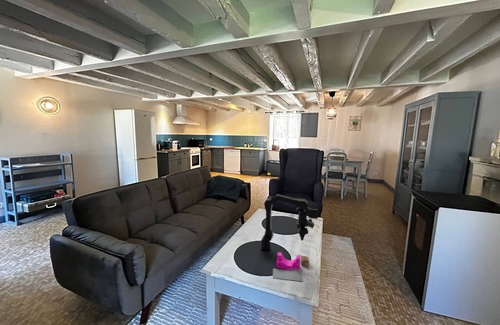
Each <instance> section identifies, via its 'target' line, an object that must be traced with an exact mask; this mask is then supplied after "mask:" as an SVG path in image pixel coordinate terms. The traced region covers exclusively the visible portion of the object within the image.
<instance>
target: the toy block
mask: <svg viewBox="0 0 500 325" xmlns="http://www.w3.org/2000/svg"><path fill="white" fill-rule="evenodd" d="M276 259H277V260H276V268H277V269H282V270H291V271H293V269H297V270H300V268H301V255H297V256H296V258H294V259H291V260H289V259H287V258H285V257H284V255H283V253H282V252H280V251H279V252H277V258H276Z"/></svg>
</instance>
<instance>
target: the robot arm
mask: <svg viewBox="0 0 500 325" xmlns="http://www.w3.org/2000/svg"><path fill="white" fill-rule="evenodd" d="M277 202H283V203H286V204H290V205H294V206H295V207H296V210H295V211H297V212H298V216H297V219H296V220H295V221H296V222H295V223H296V224H295V225H296V228H297V230H298V234H299V237H300V240H301V241H302V242H303V241H304V238H305V236H306V235H308V234H309V230H308V228H307V227H309V228H311V229H314V228H315V222H314V221H313V220H314V219H315V220H318V217H319V214H318V213H319V212H318V211H319V210H318V208H311V206H309V204H308V200H307V199H305V198H293V197H291V196H286V195H282V194H280V193H277V194H276V195H274V196H271V197H268V198H266V199H265V201H264V203H263V206H264V210H265V231H264V235H262V238H261V240H260V242H261V246H260V247H261V249H260V251H264V252H270V251H271V241H272V240H273V238H274V236H275V234H274V231H275V230H274V229H272V209H273V205H274V204H275V203H277ZM312 219H313V220H312Z"/></svg>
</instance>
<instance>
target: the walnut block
mask: <svg viewBox="0 0 500 325" xmlns="http://www.w3.org/2000/svg"><path fill="white" fill-rule="evenodd" d="M300 266H302V267H303V266H305V267H309V266H310V258H309V256H308V255H307V256H304V255H300Z"/></svg>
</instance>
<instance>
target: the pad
mask: <svg viewBox="0 0 500 325" xmlns="http://www.w3.org/2000/svg"><path fill="white" fill-rule="evenodd" d="M302 274H303V273H302V271H300V270H288V269H282V268H272V279H276V280H286V281H294V282H295V281H296V282H300V283H301V282H304V281H303V280H304V279H303V276H302Z"/></svg>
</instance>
